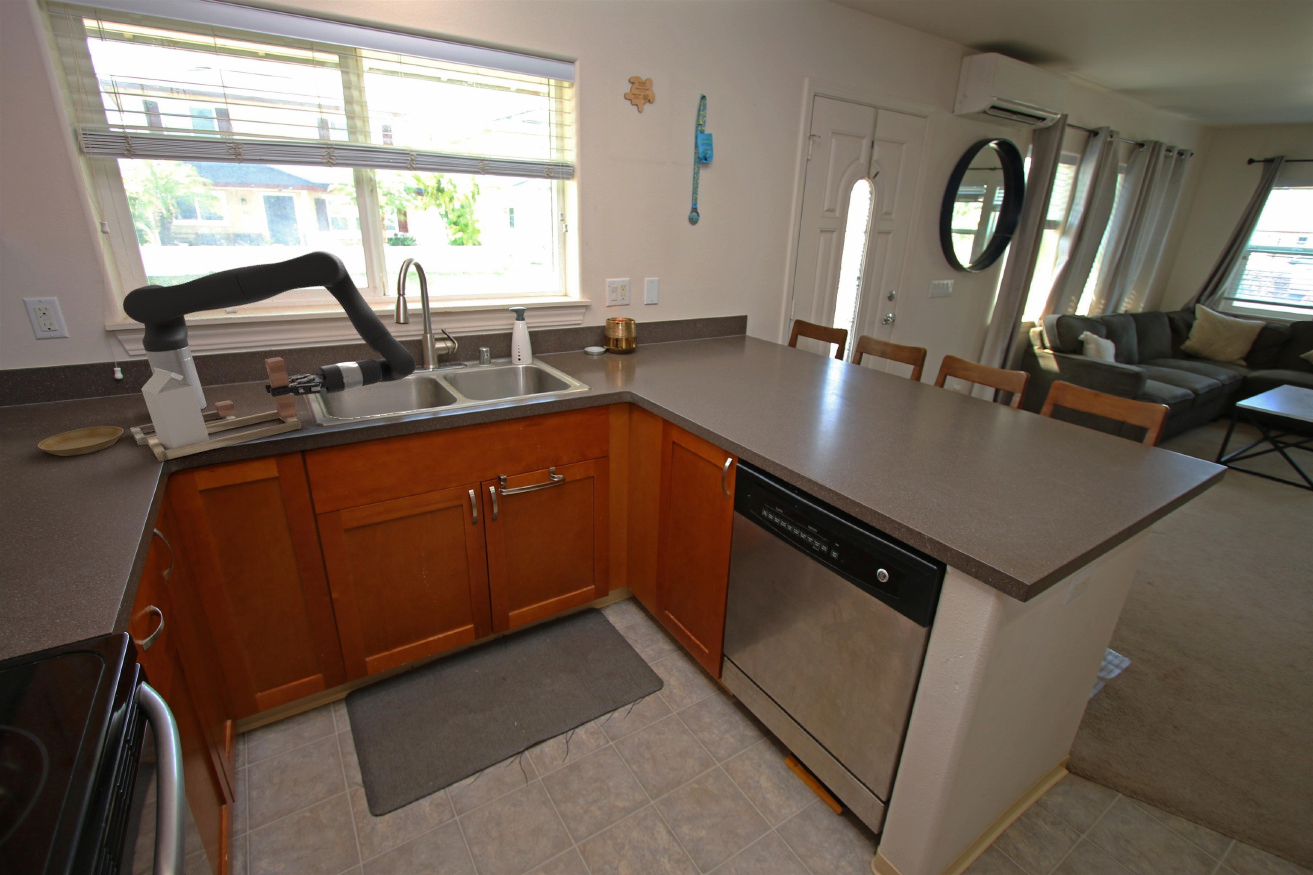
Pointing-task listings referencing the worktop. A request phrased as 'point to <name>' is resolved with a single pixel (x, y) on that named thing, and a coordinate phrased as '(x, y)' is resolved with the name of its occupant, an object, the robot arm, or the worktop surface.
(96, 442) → the plant saucer
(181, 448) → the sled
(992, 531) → the worktop surface
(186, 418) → the milk carton
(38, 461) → the worktop surface
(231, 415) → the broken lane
